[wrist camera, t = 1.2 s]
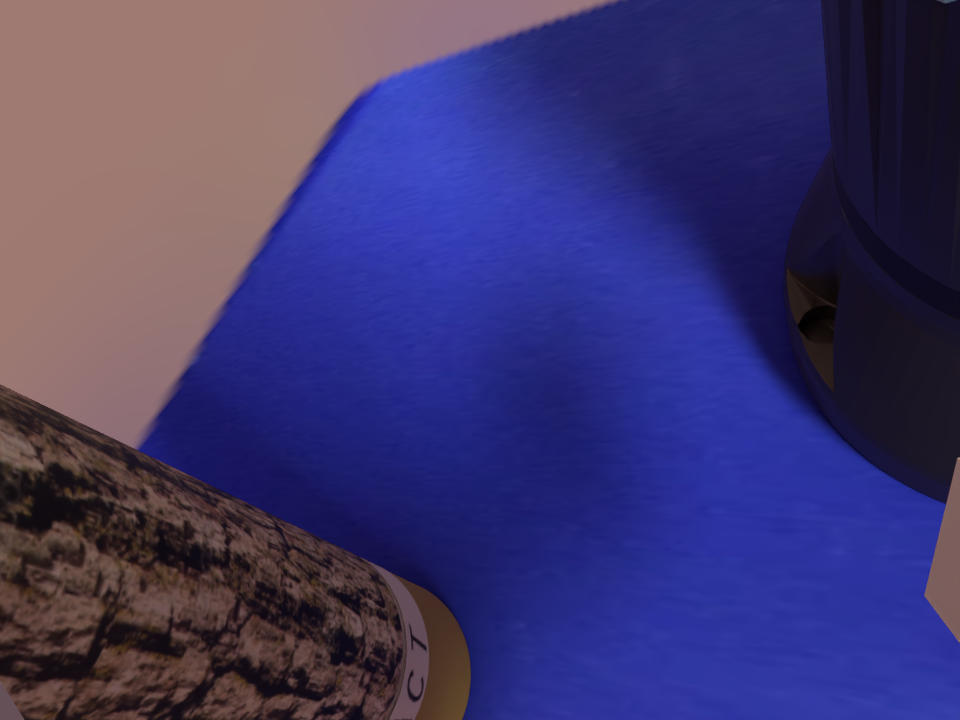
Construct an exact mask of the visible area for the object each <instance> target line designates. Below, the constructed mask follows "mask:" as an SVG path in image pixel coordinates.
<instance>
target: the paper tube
mask: <svg viewBox="0 0 960 720" xmlns="http://www.w3.org/2000/svg"><path fill="white" fill-rule="evenodd" d="M0 681H1V682H2V684H3V686H4V687H5V689H6V691H7V692H8V694H9V695H10V697H11V699H12V700H13V702H14V704H15V705H16V707H17V708H18V710H19V712H20V713H21V715H22V717H23V718H24V720H462V719H463V716H464V713H465V710H466V707H467V702H468V698H469V692H470V684H471V666H470V657H469V651H468V647H467V643H466V640H465V637H464V635H463V632H462V630H461V628H460V626H459V624H458V622H457V620H456V619H455V617H454V615H453V614H452V613H451V612H450V610H449V609H448V608H447V607H446V606H445V605H444V604H443V603H442V602H441V601H440V600H439V599H438V598H437V597H436V596H435V595H433V594H432V593H430V592H429V591H427V590H426V589H424V588H422V587H420V586H418V585H416V584H414V583H411V582H409V581H407V580H405V579H403V578H401V577H399V576H397V575H395V574H393V573H391V572H388V571H387V570H385V569H383V568H382V567H380V566H378V565H376V564H374V563H371V562H369V561H367V560H365V559H363V558H361V557H359V556H357V555H355V554H353V553H351V552H349V551H346V550H344V549H342V548H340V547H338V546H336V545H334V544H332V543H330V542H328V541H326V540H324V539H321V538H319V537H317V536H315V535H313V534H311V533H309V532H307V531H305V530H303V529H301V528H298V527H296V526H294V525H292V524H290V523H288V522H286V521H284V520H282V519H280V518H278V517H276V516H273V515H271V514H269V513H267V512H265V511H263V510H261V509H259V508H257V507H255V506H253V505H250V504H248V503H246V502H244V501H242V500H240V499H238V498H236V497H234V496H232V495H230V494H228V493H225V492H223V491H221V490H219V489H217V488H215V487H213V486H211V485H209V484H207V483H205V482H202V481H200V480H198V479H196V478H194V477H192V476H190V475H188V474H186V473H184V472H182V471H180V470H177V469H175V468H173V467H171V466H169V465H167V464H165V463H163V462H161V461H159V460H157V459H154V458H152V457H150V456H148V455H146V454H144V453H142V452H140V451H138V450H136V449H134V448H132V447H129V446H127V445H125V444H123V443H121V442H119V441H117V440H115V439H113V438H111V437H108V436H106V435H104V434H102V433H100V432H98V431H96V430H94V429H92V428H90V427H88V426H86V425H83V424H81V423H79V422H77V421H75V420H73V419H71V418H69V417H67V416H64V415H63V414H60V413H58V412H56V411H54V410H52V409H50V408H48V407H46V406H44V405H42V404H40V403H38V402H35V401H33V400H31V399H29V398H27V397H25V396H23V395H21V394H19V393H17V392H15V391H13V390H11V389H8V388H6V387H4V386H2V385H0Z"/></svg>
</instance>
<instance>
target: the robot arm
mask: <svg viewBox="0 0 960 720" xmlns="http://www.w3.org/2000/svg"><path fill="white" fill-rule="evenodd" d="M821 6H822V21H823V35H824V49H825V63H826V78H827V92H828V106H829V121H830V134H831V148H830V150H829V152H828V154H827V156H826V158H825V160H824V162H823V164H822V166H821V167H820V169H819V171H818V173H817V175H816V177H815V179H814V181H813V183H812V185H811V187H810V188H809V190H808V192H807V194H806V196H805V198H804V200H803V202H802V204H801V206H800V209H799V211H798V213H797V216H796V218H795V221H794V224H793V227H792V230H791V234H790V238H789V241H788V247H787V252H786V258H785V266H784V302H785V310H786V316H787V322H788V328H789V334H790V339H791V345H792V348H793V352H794V356H795V359H796V362H797V365H798V367H799V370H800V373H801V375H802V377H803V379H804V381H805V384H806V386H807V388H808V390H809V391H810V393H811V395H812V397H813V398H814V400H815V402H816V403H817V405H818V406H819V408H820V409H821V411H822V412H823V414H824V415H825V416H826V417H827V419H828V420H829V421H830V422H831V424H832V425H833V426H834V427H835V429H836V430H837V431H838V432H839V433H840V434H841V435H842V436H843V437H844V438H845V439H846V440H847V441H848V442H849V443H850V444H851V445H852V446H853V447H854V448H855V449H856V450H857V451H858V452H860V453H861V454H862V455H863V456H864V457H866V458H867V459H868V460H869V461H871V462H872V463H873V464H874V465H876V466H877V467H879V468H880V469H882V470H883V471H885V472H886V473H887V474H889V475H890V476H892V477H894V478H895V479H897V480H899V481H900V482H902V483H904V484H905V485H907V486H909V487H911V488H913V489H915V490H917V491H919V492H921V493H923V494H925V495H927V496H929V497H931V498H934V499H936V500H938V501H941V502H943V503H946V508H945V512H944V516H943V520H942V524H941V528H940V533H939V537H938V541H937V545H936V549H935V553H934V558H933V562H932V566H931V570H930V574H929V578H928V583H927V587H926V591H925V595H924V596H925V597H926V599H927V600H928V601H929V603H930V604H931V605H932V607H933V608H934V609H935V611H936V612H937V613H938V615H939V616H940V617H941V619H942V620H943V621H944V623H945V624H946V625H947V627H948V628H949V629H950V631H951V632H952V633H953V635H954V636H955V637H956V639H957V640H958V641H959V643H960V0H821ZM0 720H24V718H23V717H22V715H21V713H20V712H19V710H18V708H17V707H16V705H15V704H14V702H13V700H12V699H11V697H10V695H9V694H8V692H7V691H6V689H5V687H4V686H3V684H2V682H1V681H0Z"/></svg>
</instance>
